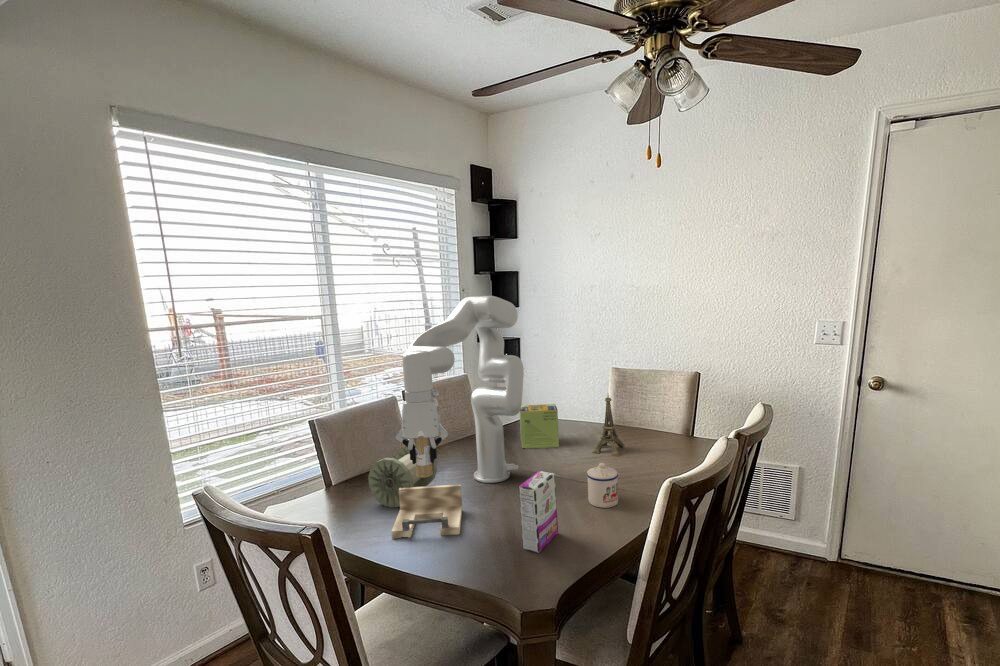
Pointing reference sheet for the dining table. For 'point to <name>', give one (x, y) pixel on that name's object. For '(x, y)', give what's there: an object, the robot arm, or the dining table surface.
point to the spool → (396, 477)
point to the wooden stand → (429, 509)
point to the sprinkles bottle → (423, 456)
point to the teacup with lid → (602, 486)
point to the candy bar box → (538, 511)
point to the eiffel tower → (613, 436)
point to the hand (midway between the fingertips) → (423, 461)
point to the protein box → (539, 426)
